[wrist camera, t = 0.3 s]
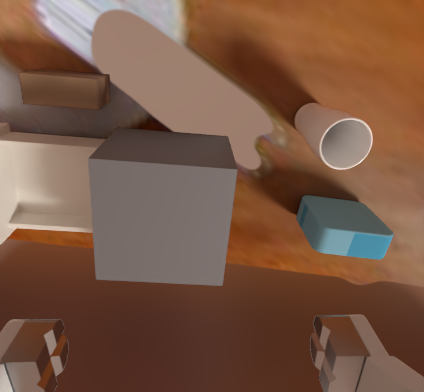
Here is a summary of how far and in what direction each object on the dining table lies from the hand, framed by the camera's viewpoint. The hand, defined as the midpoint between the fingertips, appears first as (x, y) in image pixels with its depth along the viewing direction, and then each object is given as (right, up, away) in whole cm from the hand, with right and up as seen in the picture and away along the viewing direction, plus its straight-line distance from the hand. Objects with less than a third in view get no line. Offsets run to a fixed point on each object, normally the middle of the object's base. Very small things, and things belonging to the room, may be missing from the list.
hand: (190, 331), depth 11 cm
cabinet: (-6, +7, +48) cm, 49 cm away
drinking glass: (+17, +17, +44) cm, 50 cm away
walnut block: (-20, +21, +41) cm, 50 cm away
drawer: (-25, +7, +45) cm, 52 cm away
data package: (+22, +2, +51) cm, 56 cm away
